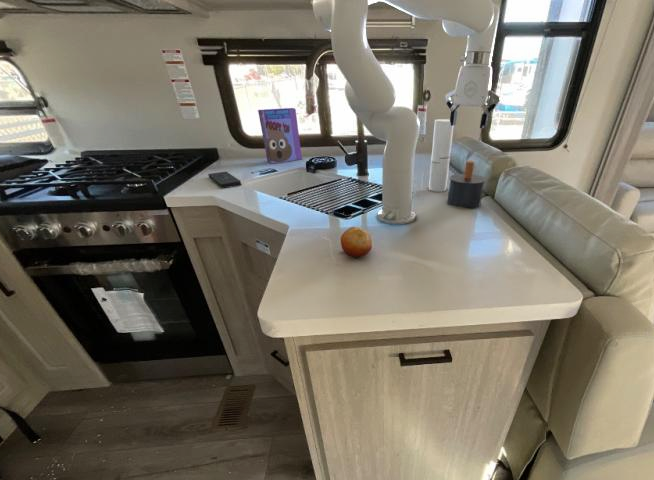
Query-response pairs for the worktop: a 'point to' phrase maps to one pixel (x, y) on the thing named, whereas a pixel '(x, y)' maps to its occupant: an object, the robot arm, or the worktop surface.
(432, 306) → the worktop surface
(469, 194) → the pot
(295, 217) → the worktop surface
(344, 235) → the fruit
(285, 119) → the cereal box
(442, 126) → the white tall block
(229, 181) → the smart home device
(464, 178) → the lid
